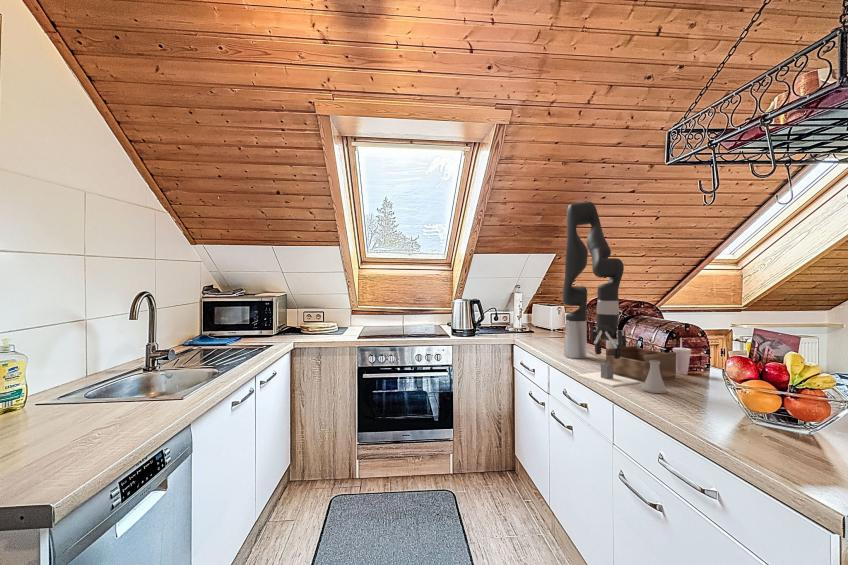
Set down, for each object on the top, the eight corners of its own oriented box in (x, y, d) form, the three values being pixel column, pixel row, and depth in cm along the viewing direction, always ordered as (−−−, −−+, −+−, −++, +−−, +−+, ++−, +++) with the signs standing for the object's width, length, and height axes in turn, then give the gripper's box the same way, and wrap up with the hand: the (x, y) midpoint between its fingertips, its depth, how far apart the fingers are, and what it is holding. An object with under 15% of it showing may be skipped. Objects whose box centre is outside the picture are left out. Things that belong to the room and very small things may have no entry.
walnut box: (605, 372, 170) (605, 348, 170) (634, 368, 176) (634, 345, 176) (645, 382, 153) (645, 356, 153) (675, 378, 160) (676, 352, 160)
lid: (576, 378, 163) (576, 361, 163) (602, 374, 168) (602, 359, 168) (611, 388, 148) (612, 370, 148) (639, 384, 153) (639, 367, 153)
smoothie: (668, 372, 169) (668, 337, 168) (679, 371, 171) (679, 336, 171) (684, 376, 163) (684, 339, 163) (695, 374, 166) (695, 338, 165)
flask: (671, 394, 139) (671, 363, 139) (649, 394, 139) (649, 363, 138) (659, 388, 146) (659, 359, 146) (638, 388, 146) (638, 359, 146)
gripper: (585, 311, 162) (585, 353, 163) (616, 314, 149) (615, 361, 150) (600, 310, 166) (599, 352, 166) (631, 313, 153) (631, 359, 153)
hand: (607, 356), depth 158 cm, fingers open, 8 cm apart
